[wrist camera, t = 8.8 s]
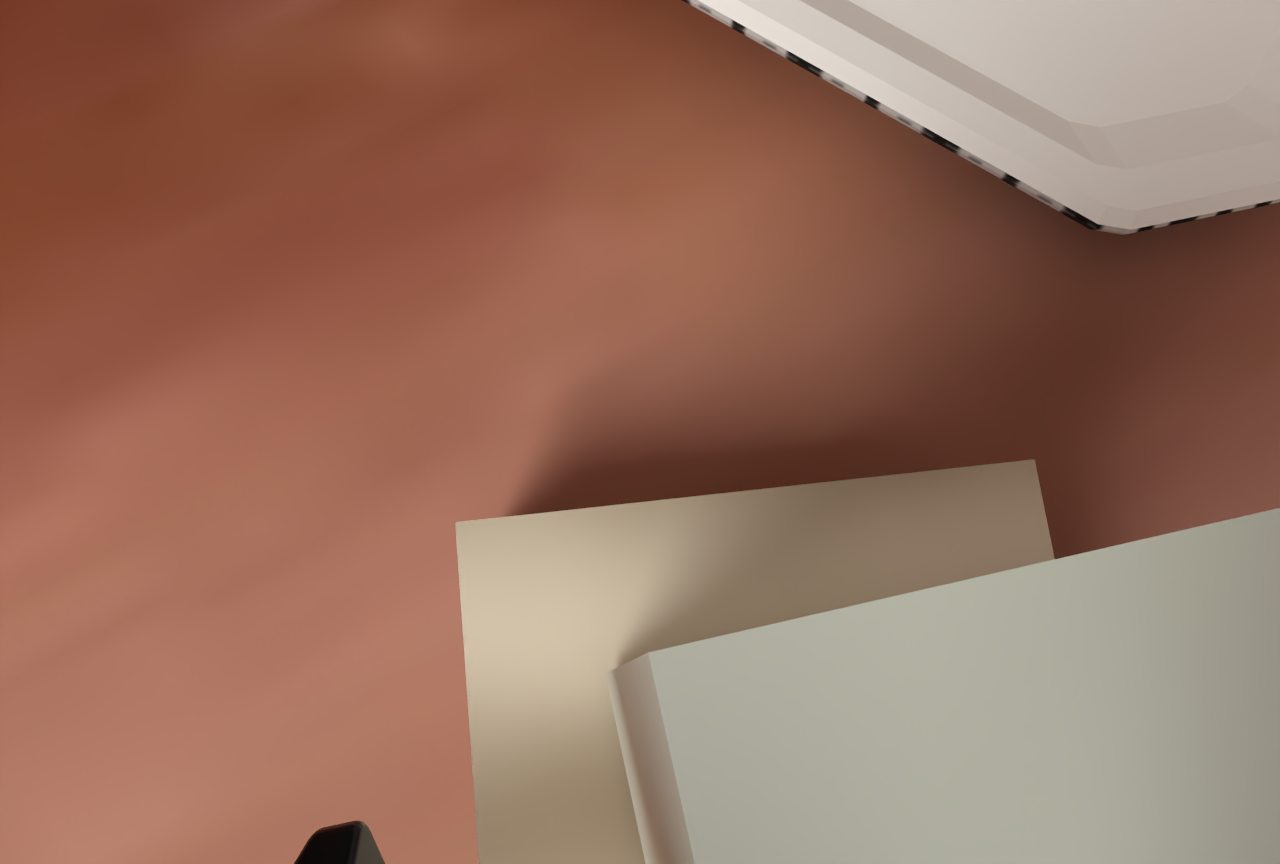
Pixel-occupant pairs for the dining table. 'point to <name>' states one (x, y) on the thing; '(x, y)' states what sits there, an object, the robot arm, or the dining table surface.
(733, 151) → the dining table surface
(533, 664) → the maple block
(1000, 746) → the sage block
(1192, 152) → the plate
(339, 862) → the robot arm
